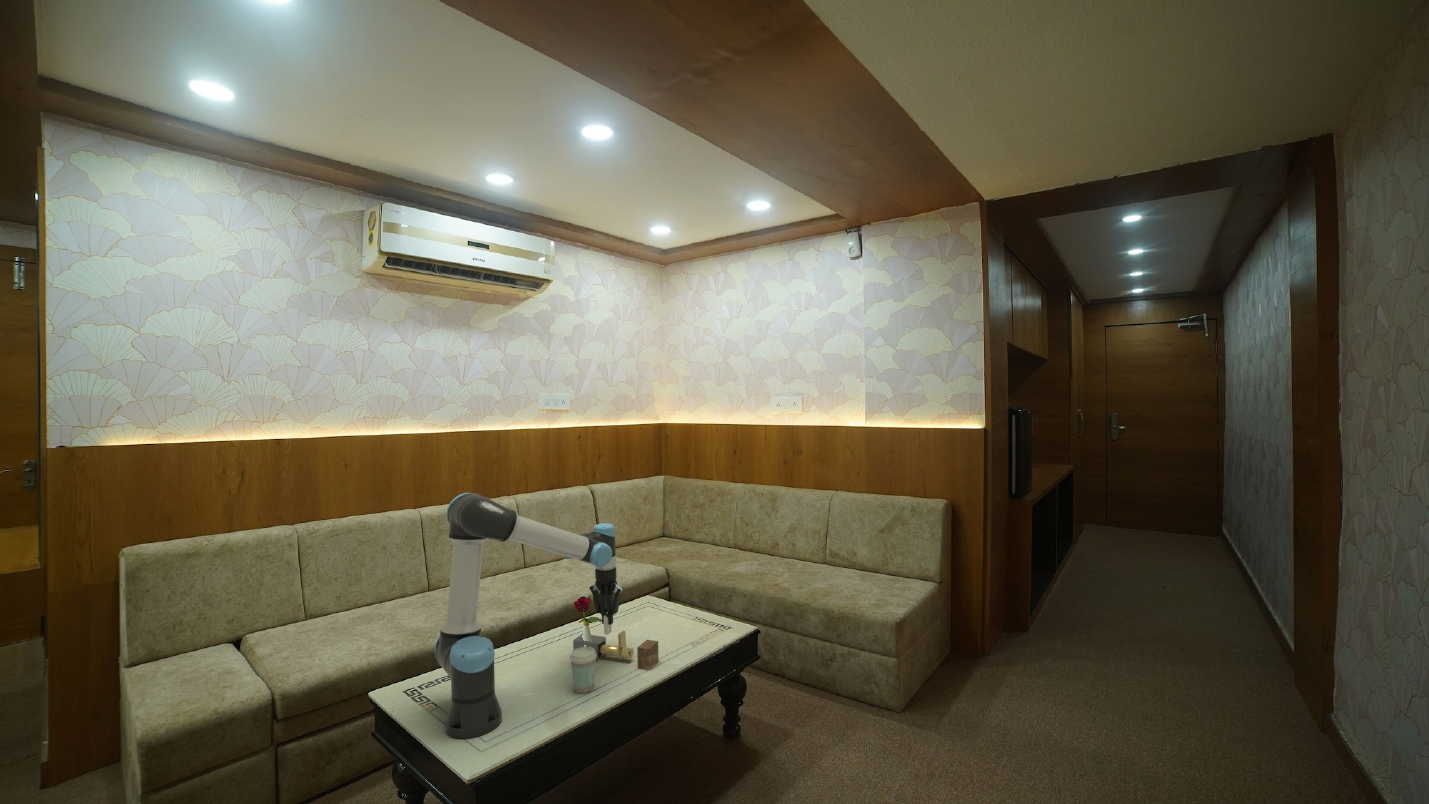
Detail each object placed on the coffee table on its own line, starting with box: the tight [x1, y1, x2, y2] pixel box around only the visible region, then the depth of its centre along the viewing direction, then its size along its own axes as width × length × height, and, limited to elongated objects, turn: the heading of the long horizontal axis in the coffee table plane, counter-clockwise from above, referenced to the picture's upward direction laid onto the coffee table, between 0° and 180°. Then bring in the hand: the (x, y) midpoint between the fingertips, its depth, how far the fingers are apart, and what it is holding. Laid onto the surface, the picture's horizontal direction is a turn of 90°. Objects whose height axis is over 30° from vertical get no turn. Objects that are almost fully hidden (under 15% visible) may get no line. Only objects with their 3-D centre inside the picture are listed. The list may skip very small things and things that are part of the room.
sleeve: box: [572, 633, 607, 662], centre depth 217 cm, size 10×6×6 cm, turn 69°
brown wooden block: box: [636, 639, 659, 671], centre depth 209 cm, size 4×7×7 cm, turn 159°
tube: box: [598, 630, 634, 660], centre depth 215 cm, size 23×3×9 cm, turn 69°
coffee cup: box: [569, 647, 597, 694], centre depth 192 cm, size 9×8×12 cm
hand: (607, 632), depth 215 cm, fingers closed
